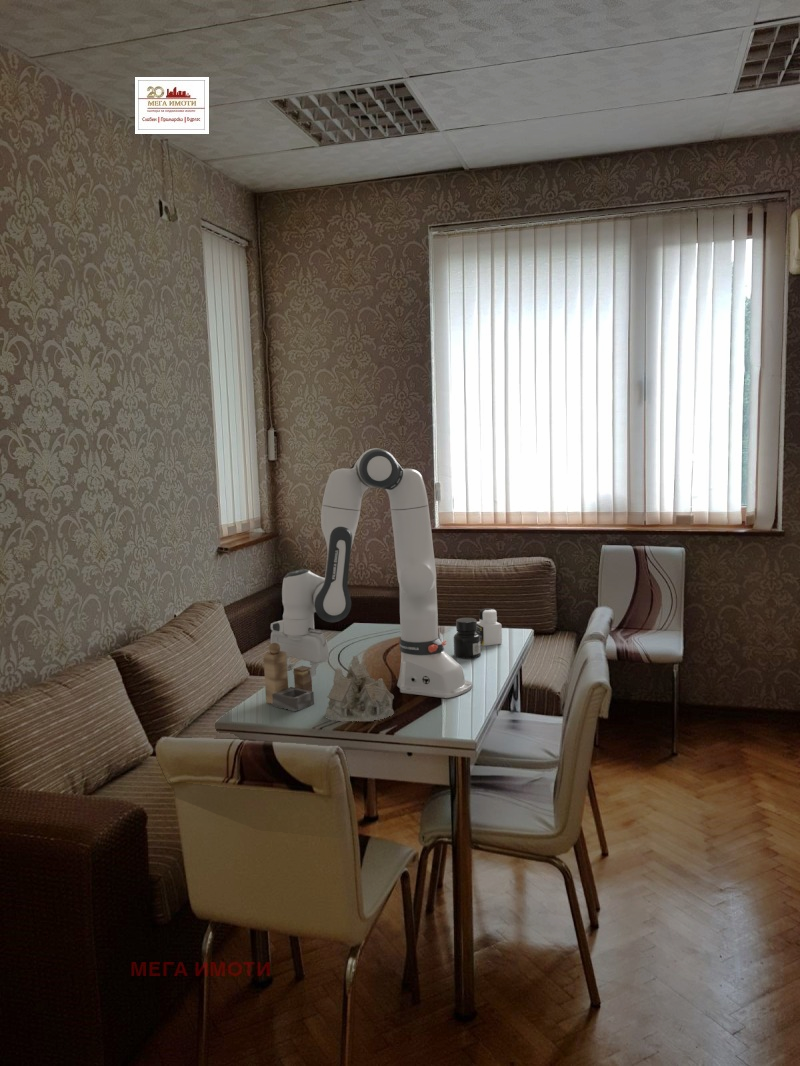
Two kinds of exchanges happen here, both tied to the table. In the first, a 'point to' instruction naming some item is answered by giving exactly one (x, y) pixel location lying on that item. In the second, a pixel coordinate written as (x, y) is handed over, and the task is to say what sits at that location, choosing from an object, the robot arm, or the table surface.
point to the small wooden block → (302, 678)
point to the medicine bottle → (489, 627)
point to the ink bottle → (466, 639)
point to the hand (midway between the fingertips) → (300, 672)
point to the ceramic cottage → (358, 696)
